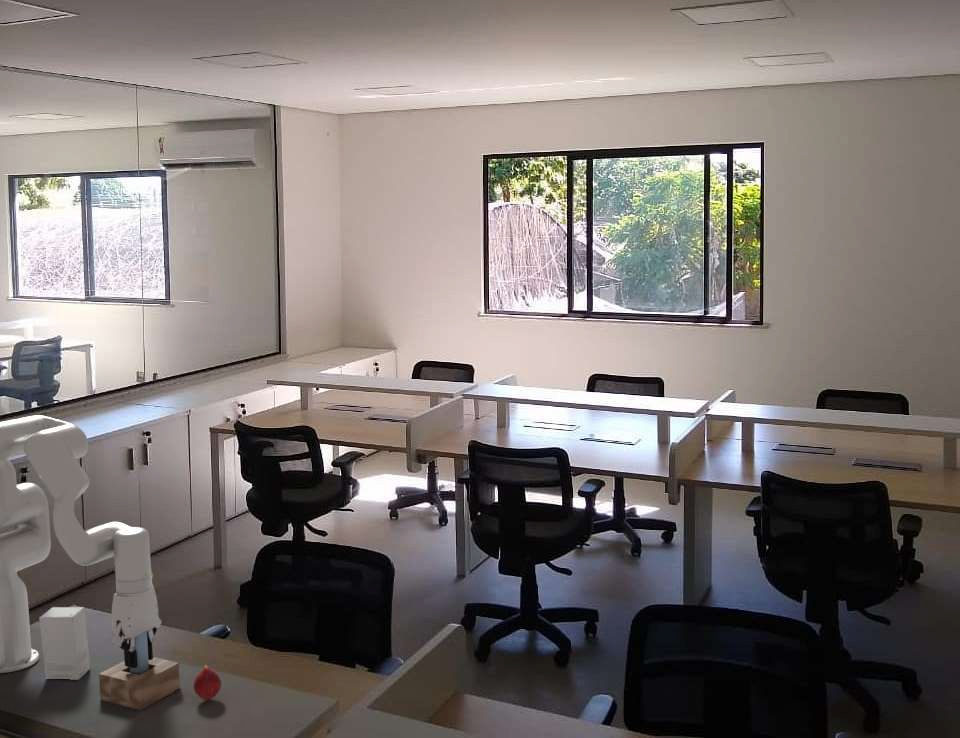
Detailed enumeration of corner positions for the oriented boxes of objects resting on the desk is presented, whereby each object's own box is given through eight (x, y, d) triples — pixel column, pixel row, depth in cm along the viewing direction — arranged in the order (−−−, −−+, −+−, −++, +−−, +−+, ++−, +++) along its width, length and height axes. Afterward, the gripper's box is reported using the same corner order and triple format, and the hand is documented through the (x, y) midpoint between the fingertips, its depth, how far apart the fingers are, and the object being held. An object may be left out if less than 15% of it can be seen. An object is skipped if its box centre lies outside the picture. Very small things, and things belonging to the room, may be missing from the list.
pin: (127, 682, 232) (123, 622, 230) (140, 675, 235) (136, 615, 233) (140, 685, 230) (136, 624, 228) (153, 678, 233) (149, 618, 232)
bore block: (100, 699, 230) (98, 673, 230) (140, 678, 241) (139, 653, 240) (140, 710, 225) (139, 683, 224) (180, 688, 236) (178, 662, 235)
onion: (227, 697, 231) (225, 663, 230) (210, 708, 226) (208, 673, 225) (206, 692, 233) (204, 658, 232) (189, 703, 228) (187, 668, 227)
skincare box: (91, 669, 246) (86, 606, 244) (77, 681, 240) (73, 617, 238) (57, 668, 247) (52, 605, 245) (43, 680, 241) (38, 616, 238)
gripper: (149, 570, 239) (153, 646, 241) (92, 593, 224) (97, 674, 226) (174, 574, 235) (178, 652, 238) (117, 598, 221) (123, 680, 223)
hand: (139, 662), depth 232 cm, fingers closed on pin, 4 cm apart
